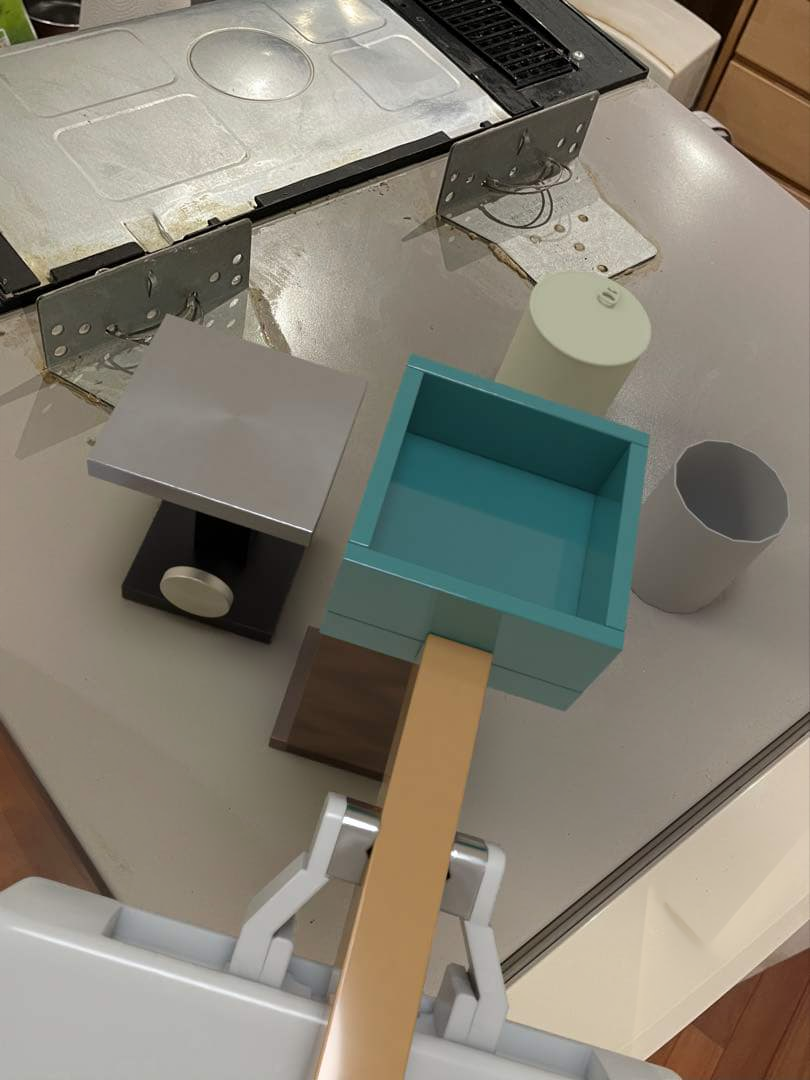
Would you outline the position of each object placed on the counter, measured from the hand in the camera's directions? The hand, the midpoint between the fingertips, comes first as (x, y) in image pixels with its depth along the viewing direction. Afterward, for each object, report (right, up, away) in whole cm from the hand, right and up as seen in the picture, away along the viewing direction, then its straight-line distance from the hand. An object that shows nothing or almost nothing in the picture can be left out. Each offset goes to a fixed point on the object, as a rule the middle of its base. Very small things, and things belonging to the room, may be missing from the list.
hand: (415, 821), depth 26 cm
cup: (+19, +5, +49) cm, 53 cm away
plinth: (-3, -4, +37) cm, 37 cm away
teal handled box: (0, +2, +3) cm, 4 cm away
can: (+10, +17, +54) cm, 57 cm away
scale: (-13, +6, +40) cm, 43 cm away
